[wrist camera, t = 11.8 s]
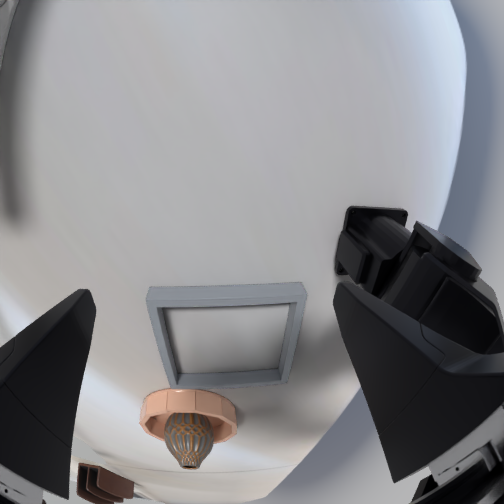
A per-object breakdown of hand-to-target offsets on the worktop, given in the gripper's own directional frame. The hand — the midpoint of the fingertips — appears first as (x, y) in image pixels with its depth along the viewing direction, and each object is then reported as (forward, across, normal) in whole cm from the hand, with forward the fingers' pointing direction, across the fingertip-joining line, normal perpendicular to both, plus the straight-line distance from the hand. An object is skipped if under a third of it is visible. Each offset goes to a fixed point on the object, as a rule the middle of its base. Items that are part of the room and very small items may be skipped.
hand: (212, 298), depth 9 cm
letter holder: (+12, +42, +89) cm, 99 cm away
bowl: (+12, +5, +31) cm, 34 cm away
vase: (+12, +5, +31) cm, 33 cm away
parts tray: (+12, -1, +15) cm, 19 cm away
